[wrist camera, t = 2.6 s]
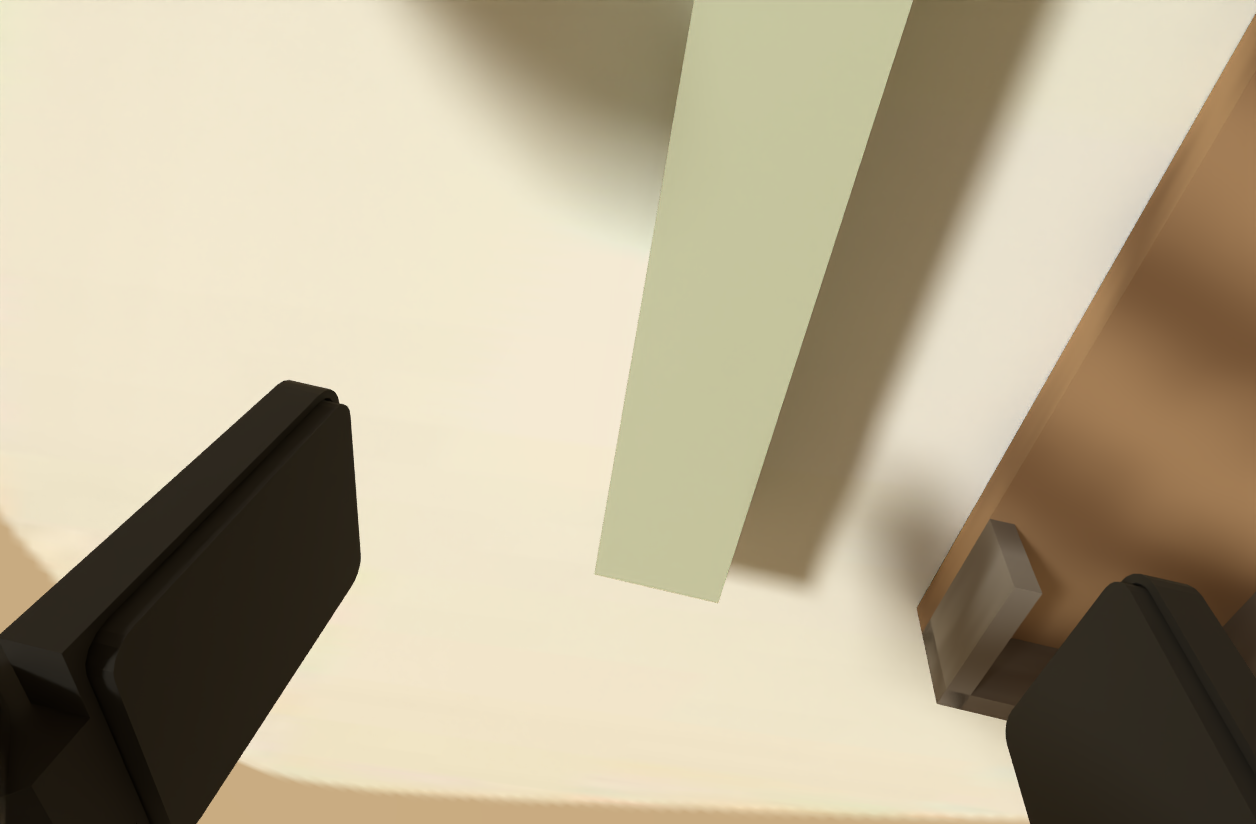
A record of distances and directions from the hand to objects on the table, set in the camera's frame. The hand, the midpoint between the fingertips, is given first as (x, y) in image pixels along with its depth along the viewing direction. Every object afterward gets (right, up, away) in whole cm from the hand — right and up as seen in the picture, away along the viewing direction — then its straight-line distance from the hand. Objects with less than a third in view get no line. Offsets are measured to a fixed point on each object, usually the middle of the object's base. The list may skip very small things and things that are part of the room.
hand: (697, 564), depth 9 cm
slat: (+2, +8, +12) cm, 14 cm away
